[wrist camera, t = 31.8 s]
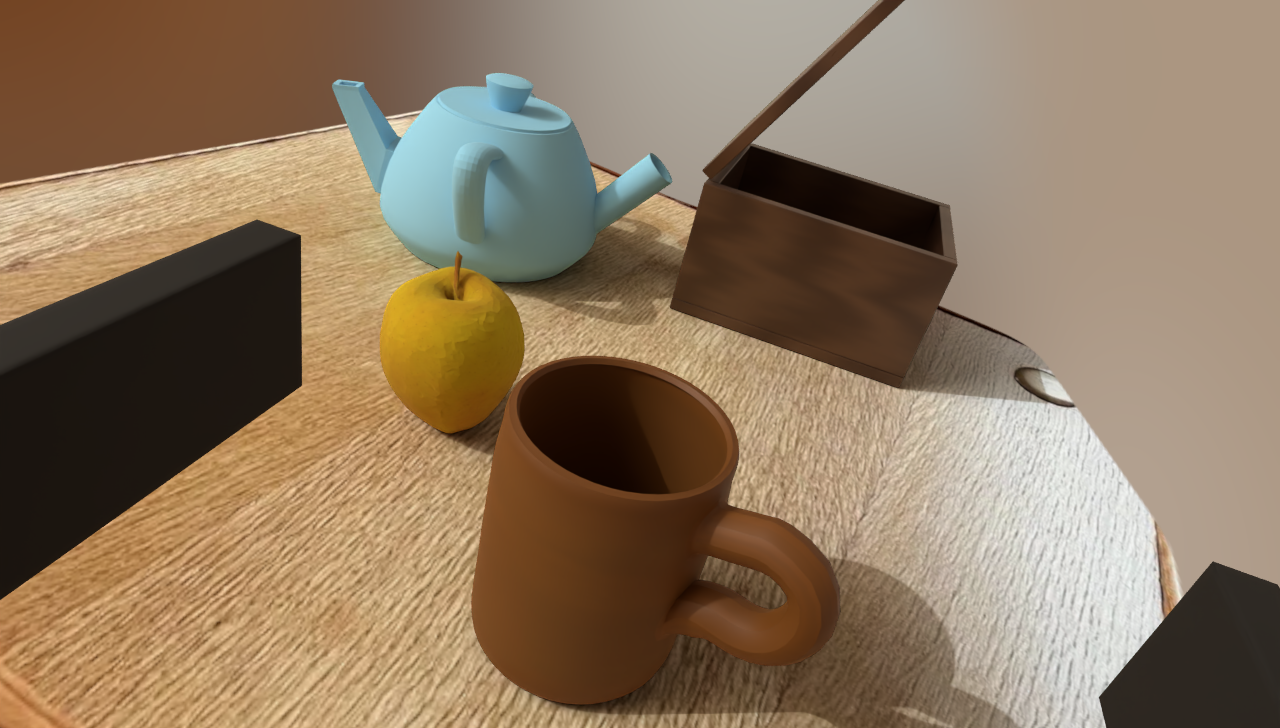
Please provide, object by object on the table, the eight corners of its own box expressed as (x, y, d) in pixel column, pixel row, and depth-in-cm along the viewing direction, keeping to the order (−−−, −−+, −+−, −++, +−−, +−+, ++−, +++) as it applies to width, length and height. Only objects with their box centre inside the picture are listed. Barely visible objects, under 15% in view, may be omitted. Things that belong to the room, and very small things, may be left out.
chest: (902, 311, 61) (950, 205, 56) (898, 388, 50) (958, 264, 46) (711, 247, 63) (742, 140, 59) (669, 307, 52) (704, 182, 48)
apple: (449, 363, 41) (466, 223, 37) (538, 424, 39) (566, 280, 34) (343, 406, 36) (349, 250, 32) (436, 479, 34) (454, 319, 30)
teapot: (478, 328, 45) (504, 134, 39) (322, 208, 53) (325, 35, 48) (655, 280, 56) (695, 122, 50) (501, 186, 64) (521, 43, 58)
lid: (938, -40, 50) (879, -113, 49) (944, -37, 39) (869, -130, 38) (748, 138, 58) (695, 78, 58) (710, 180, 48) (645, 107, 47)
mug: (808, 700, 28) (913, 509, 24) (696, 865, 23) (802, 657, 18) (564, 518, 34) (608, 329, 29) (421, 615, 28) (447, 400, 23)
